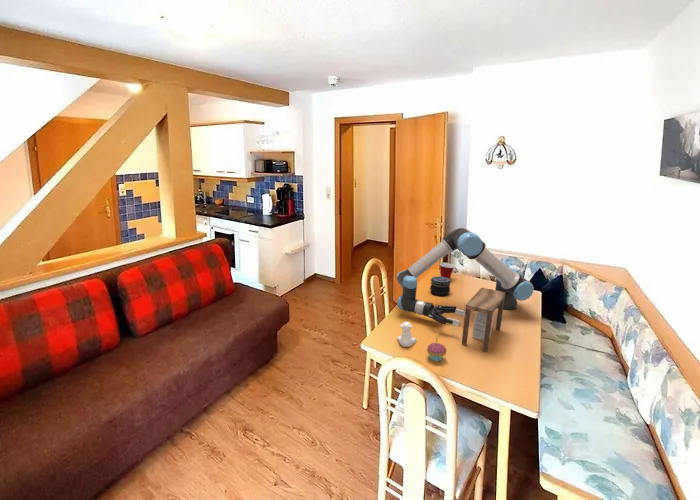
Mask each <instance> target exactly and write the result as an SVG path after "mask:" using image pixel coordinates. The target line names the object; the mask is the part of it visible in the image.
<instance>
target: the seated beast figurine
mask: <svg viewBox="0 0 700 500" xmlns="http://www.w3.org/2000/svg"><path fill="white" fill-rule="evenodd" d="M399 327H400V328H401V329H402V330H403V331H402V332H401V335H398V336H397V337H396V340H397V341H398V343H399V344H400V345H401V347H404V348H410V347H411V346H413V345H415V343H416V342H417V341H418V339H417V338H416V337H412V335H413V334H412V331H411V329H412V328H413V325H412V324H411V323H410V322H409V321H404V322H403V323H400V324H399Z"/></svg>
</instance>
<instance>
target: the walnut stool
mask: <svg viewBox="0 0 700 500" xmlns="http://www.w3.org/2000/svg"><path fill="white" fill-rule="evenodd" d="M504 299H505V292H501V291H496V290H495V289H491V288H486V287H481V288H480V289H479V290H478V291H477V292H476V293H475V294H474V295H473V296H472V297H471V299H470V300H469V301H467V303H466V304H465V307H464V308H465V310H464V311H465V316H464V318H463V319H464V320H463V326H462V327H463V328H462V337H461V345H463V346H465V347H466V346H467V345H468V337H469V330H470V329H469V328H470V321H471V320H470V319H471V312H472V311H473V312H476V313H477V312H481V313H485V314H487V320H486V328H485V336H484V341H483V345H482V352H485V353H488V351H489V347H490V346H489V344H490V338H491V336H490V331H491V332H492V330H491V324H492V325H493V322H492V316H493V317H494V312H496V310H497V315H496V316H497V317H496V323H495V328H494V329H495V331H496V332H501V326H502V320H503V319H502V318H503V311H504V309H503V306H504ZM498 305H499V307H498ZM497 307H498V308H497Z"/></svg>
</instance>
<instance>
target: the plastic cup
mask: <svg viewBox="0 0 700 500" xmlns="http://www.w3.org/2000/svg"><path fill="white" fill-rule="evenodd" d="M455 267H456V266H455V265H454V264H452V263H450V262H439V271H440V272H439V273H440V276H441V277H446V278H448V279H450V280H451V277H452V273H453V270H454V268H455Z"/></svg>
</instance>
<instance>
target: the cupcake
mask: <svg viewBox="0 0 700 500" xmlns="http://www.w3.org/2000/svg"><path fill="white" fill-rule="evenodd" d="M438 338H439V337H438V333H436V335H435V342H432V343H430V344H429V345H428V346H427V348H426V351H427V353H428V354H429V358H430V360H431V361H432V362H441V361H442V358H443V357H444V356H446V354H447V347H446V346H445V345H443V343H438V340H439V339H438Z"/></svg>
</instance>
